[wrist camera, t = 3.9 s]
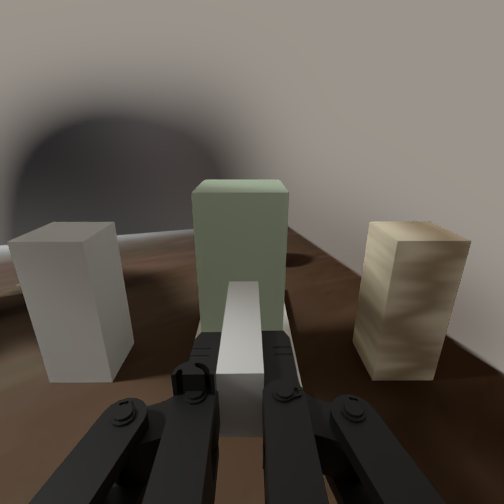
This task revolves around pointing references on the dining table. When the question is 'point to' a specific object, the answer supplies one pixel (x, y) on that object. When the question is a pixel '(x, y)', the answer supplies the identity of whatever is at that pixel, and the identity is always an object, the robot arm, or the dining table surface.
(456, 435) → the dining table surface
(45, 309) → the grey block
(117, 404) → the robot arm
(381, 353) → the birch block
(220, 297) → the pale green block
